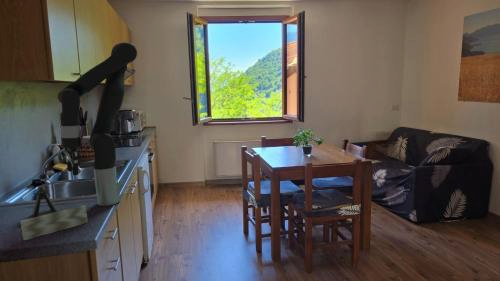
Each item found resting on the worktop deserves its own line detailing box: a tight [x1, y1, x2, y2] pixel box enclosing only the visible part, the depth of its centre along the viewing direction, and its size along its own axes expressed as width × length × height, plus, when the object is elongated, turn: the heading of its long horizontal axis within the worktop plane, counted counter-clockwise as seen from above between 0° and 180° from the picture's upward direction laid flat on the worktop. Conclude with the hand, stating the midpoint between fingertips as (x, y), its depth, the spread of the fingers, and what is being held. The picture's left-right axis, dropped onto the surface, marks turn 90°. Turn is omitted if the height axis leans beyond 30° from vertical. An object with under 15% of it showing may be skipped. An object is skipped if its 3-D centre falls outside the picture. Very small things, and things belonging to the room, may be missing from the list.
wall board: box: [19, 204, 89, 241], centre depth 137 cm, size 22×14×7 cm, turn 131°
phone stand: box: [32, 185, 58, 218], centre depth 148 cm, size 9×6×12 cm, turn 123°
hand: (73, 173), depth 149 cm, fingers open, 8 cm apart
